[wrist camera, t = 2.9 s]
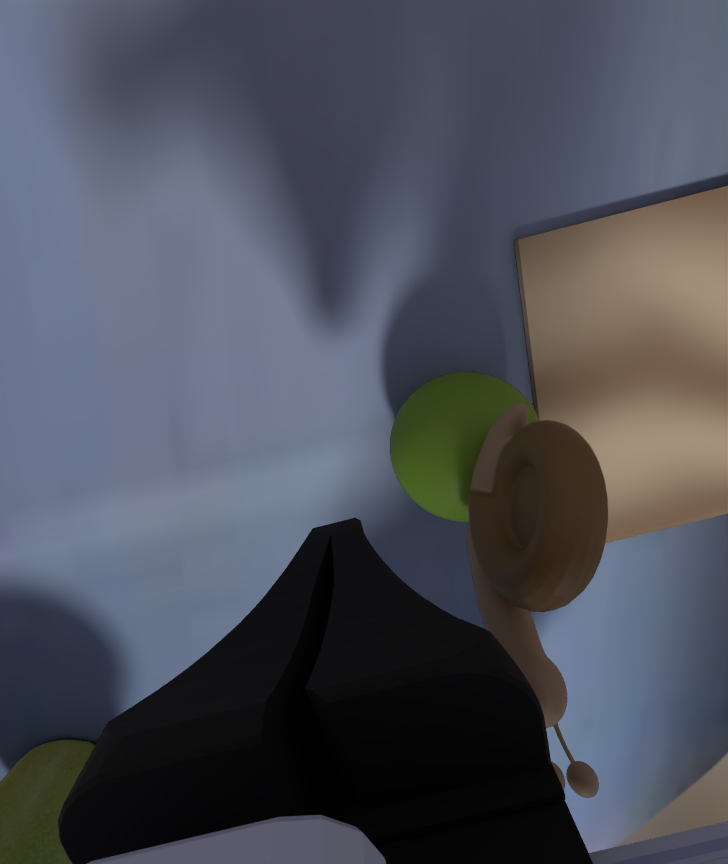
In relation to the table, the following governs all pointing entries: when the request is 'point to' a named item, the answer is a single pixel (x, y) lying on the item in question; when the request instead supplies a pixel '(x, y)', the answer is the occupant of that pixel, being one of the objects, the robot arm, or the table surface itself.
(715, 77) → the table surface
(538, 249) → the cork mat
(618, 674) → the table surface
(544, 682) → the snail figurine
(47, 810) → the plant pot
